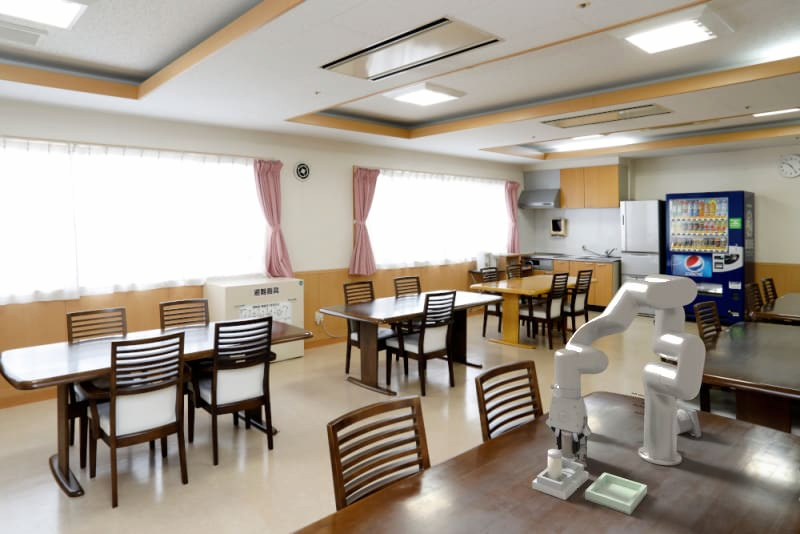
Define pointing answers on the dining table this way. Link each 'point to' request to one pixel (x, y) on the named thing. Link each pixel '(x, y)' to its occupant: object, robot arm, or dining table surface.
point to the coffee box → (582, 450)
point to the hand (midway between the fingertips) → (568, 449)
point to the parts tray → (616, 493)
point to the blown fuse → (567, 446)
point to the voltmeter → (685, 419)
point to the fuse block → (560, 476)
